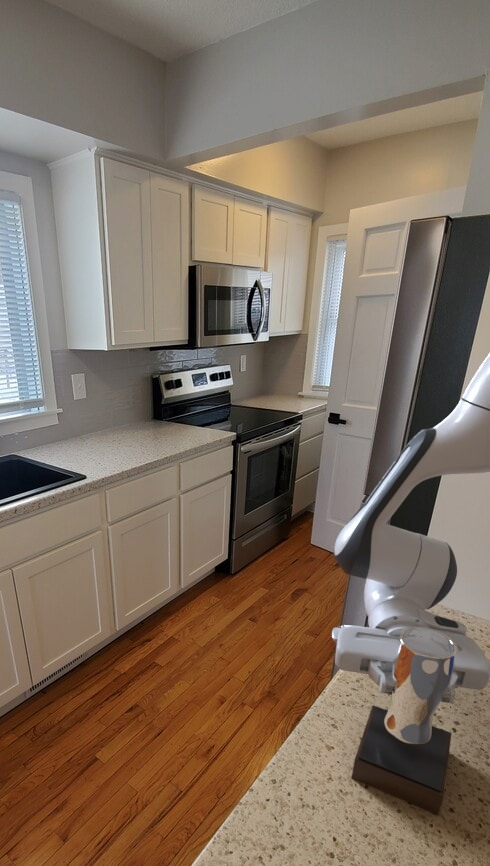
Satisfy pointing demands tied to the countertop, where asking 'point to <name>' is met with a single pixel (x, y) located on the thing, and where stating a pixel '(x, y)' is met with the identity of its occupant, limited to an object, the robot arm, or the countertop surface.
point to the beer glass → (418, 682)
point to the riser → (403, 764)
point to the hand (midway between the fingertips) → (417, 694)
